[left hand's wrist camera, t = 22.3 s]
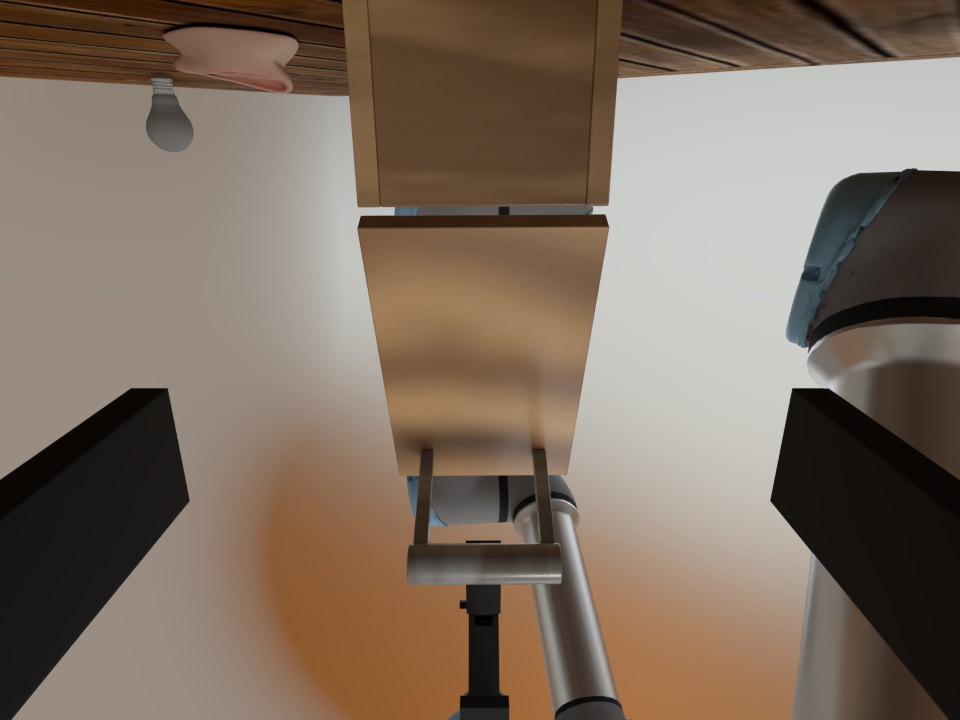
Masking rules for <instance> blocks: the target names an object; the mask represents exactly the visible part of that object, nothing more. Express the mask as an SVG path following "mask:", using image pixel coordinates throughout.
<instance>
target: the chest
mask: <svg viewBox="0 0 960 720" xmlns="http://www.w3.org/2000/svg"><path fill="white" fill-rule="evenodd" d="M622 5H623V0H342V7H343V20H344V33H345V46H346V59H347V72H348V86H349V99H350V112H351V125H352V138H353V151H354V164H355V177H356V190H357V204H358V207H380V206H381V207H490V206H585V205H587V206H608V204H609V191H610V177H611V162H612V148H613V134H614V119H615V105H616V91H617V76H618V62H619V48H620V33H621V19H622Z"/></svg>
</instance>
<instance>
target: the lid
mask: <svg viewBox="0 0 960 720" xmlns="http://www.w3.org/2000/svg"><path fill="white" fill-rule="evenodd" d="M357 229H358V235H359V241H360V247H361V253H362V259H363V264H364V270H365V276H366V282H367V288H368V294H369V299H370V305H371V311H372V317H373V323H374V329H375V334H376V340H377V346H378V352H379V358H380V363H381V369H382V375H383V381H384V387H385V392H386V398H387V404H388V410H389V416H390V422H391V428H392V433H393V439H394V445H395V451H396V457H397V463H398V468H399V474H400V476H419V480H418V492H417V504H416V516H415V528H414V540H413V544H410V545H409V547H408V554H407V581H408V584H409V585H501V584H561V581H562V555H561V548H560V545H559V543H555V536H554V526H553V517H552V507H551V497H550V487H549V478H548V475H566V474H567V471H568V465H569V459H570V453H571V448H572V442H573V436H574V430H575V424H576V418H577V412H578V407H579V401H580V395H581V389H582V383H583V377H584V372H585V366H586V360H587V354H588V348H589V342H590V337H591V331H592V325H593V319H594V313H595V307H596V301H597V296H598V290H599V284H600V278H601V272H602V266H603V261H604V255H605V249H606V243H607V237H608V231H609V225H608V222H607V218H606V215H604V214H602V215H417V216H361V217H360V221H359V225H358V228H357ZM468 475H534V483H535V495H536V507H537V520H538V532H539V543H443V544H429V534H430V518H431V502H432V486H433V476H468Z"/></svg>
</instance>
